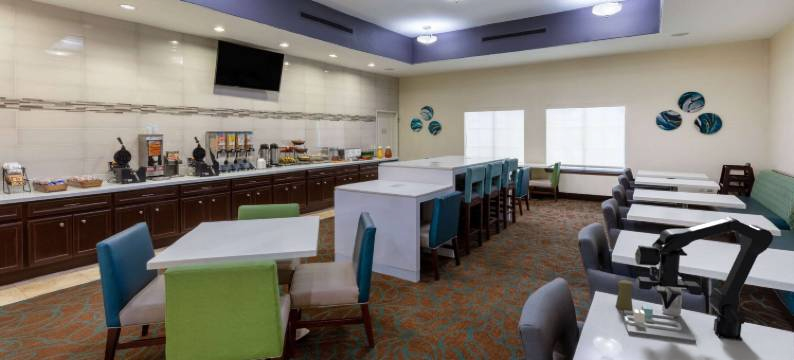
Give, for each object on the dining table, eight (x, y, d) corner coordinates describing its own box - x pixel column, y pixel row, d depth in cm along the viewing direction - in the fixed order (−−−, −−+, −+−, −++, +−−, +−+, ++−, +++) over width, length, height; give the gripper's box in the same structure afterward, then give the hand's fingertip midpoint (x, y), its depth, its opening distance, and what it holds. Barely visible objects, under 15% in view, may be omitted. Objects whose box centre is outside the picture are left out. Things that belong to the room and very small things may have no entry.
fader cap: (642, 320, 153) (643, 309, 152) (644, 324, 150) (644, 313, 149) (633, 319, 154) (633, 308, 153) (634, 323, 151) (635, 312, 150)
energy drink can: (676, 311, 163) (678, 274, 161) (683, 318, 157) (686, 280, 155) (659, 310, 164) (661, 273, 162) (666, 317, 158) (668, 279, 156)
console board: (681, 321, 154) (682, 308, 153) (695, 343, 139) (697, 328, 138) (621, 314, 161) (621, 301, 160) (628, 334, 146) (629, 320, 145)
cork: (635, 310, 164) (637, 284, 162) (620, 311, 164) (621, 284, 162) (627, 304, 170) (629, 278, 168) (612, 304, 170) (614, 278, 168)
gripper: (693, 261, 150) (689, 302, 152) (634, 256, 157) (632, 296, 159) (703, 272, 140) (700, 316, 142) (640, 266, 146) (637, 308, 148)
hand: (666, 308), depth 148 cm, fingers closed
